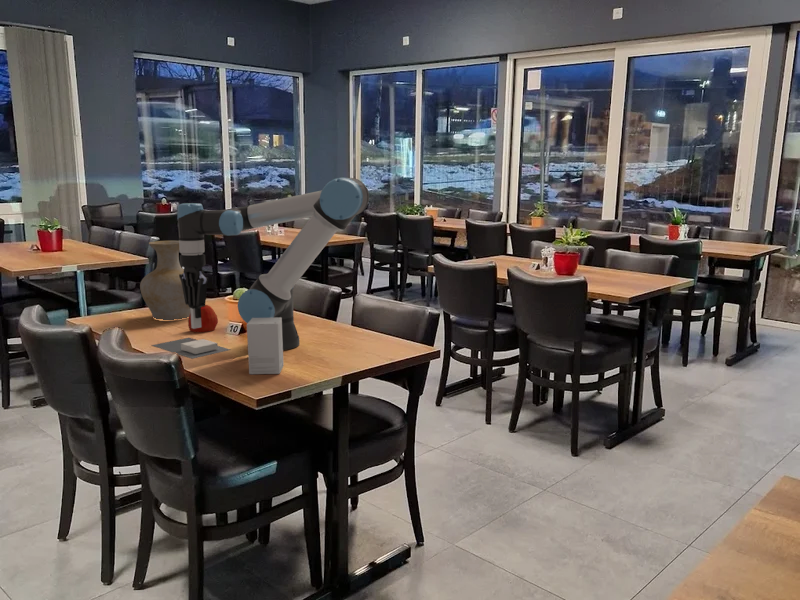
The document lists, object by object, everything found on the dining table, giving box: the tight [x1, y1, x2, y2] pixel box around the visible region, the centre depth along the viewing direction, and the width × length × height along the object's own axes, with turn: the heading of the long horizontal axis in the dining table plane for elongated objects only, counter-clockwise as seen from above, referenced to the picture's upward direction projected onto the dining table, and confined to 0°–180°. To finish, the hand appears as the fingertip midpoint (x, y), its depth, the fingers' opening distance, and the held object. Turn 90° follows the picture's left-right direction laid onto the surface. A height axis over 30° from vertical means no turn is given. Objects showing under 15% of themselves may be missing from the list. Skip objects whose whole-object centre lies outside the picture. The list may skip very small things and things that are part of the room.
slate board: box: [151, 337, 232, 360], centre depth 215 cm, size 24×14×1 cm, turn 49°
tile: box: [181, 338, 219, 354], centre depth 211 cm, size 2×8×8 cm
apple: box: [187, 304, 219, 333], centre depth 239 cm, size 10×10×10 cm
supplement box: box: [246, 317, 284, 375], centre depth 193 cm, size 9×9×15 cm
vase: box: [139, 240, 190, 320], centre depth 261 cm, size 22×22×30 cm
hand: (196, 327), depth 211 cm, fingers closed
